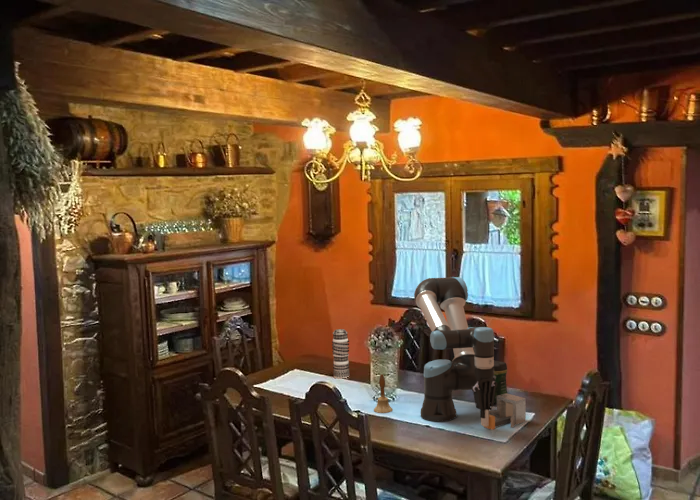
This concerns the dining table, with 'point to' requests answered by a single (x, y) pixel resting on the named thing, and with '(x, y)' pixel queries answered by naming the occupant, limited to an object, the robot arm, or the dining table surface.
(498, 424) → the plug
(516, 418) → the housing
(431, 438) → the dining table surface
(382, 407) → the hand bell
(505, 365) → the coffee jar
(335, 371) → the decorative candle
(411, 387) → the dining table surface
